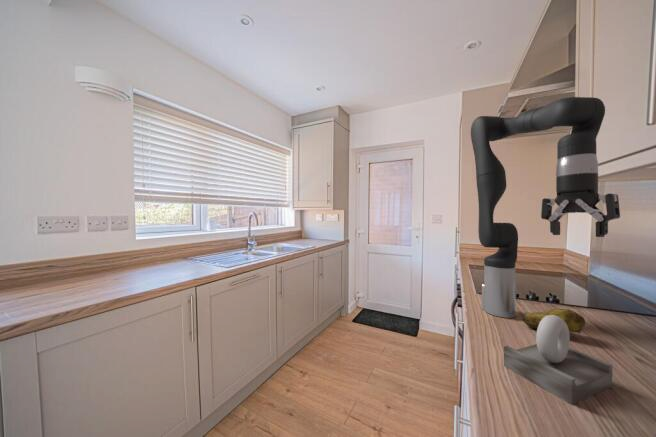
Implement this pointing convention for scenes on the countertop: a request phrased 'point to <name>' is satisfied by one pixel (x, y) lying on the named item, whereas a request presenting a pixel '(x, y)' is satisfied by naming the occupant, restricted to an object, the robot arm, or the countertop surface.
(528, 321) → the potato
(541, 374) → the base
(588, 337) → the countertop surface
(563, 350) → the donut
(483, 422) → the countertop surface
